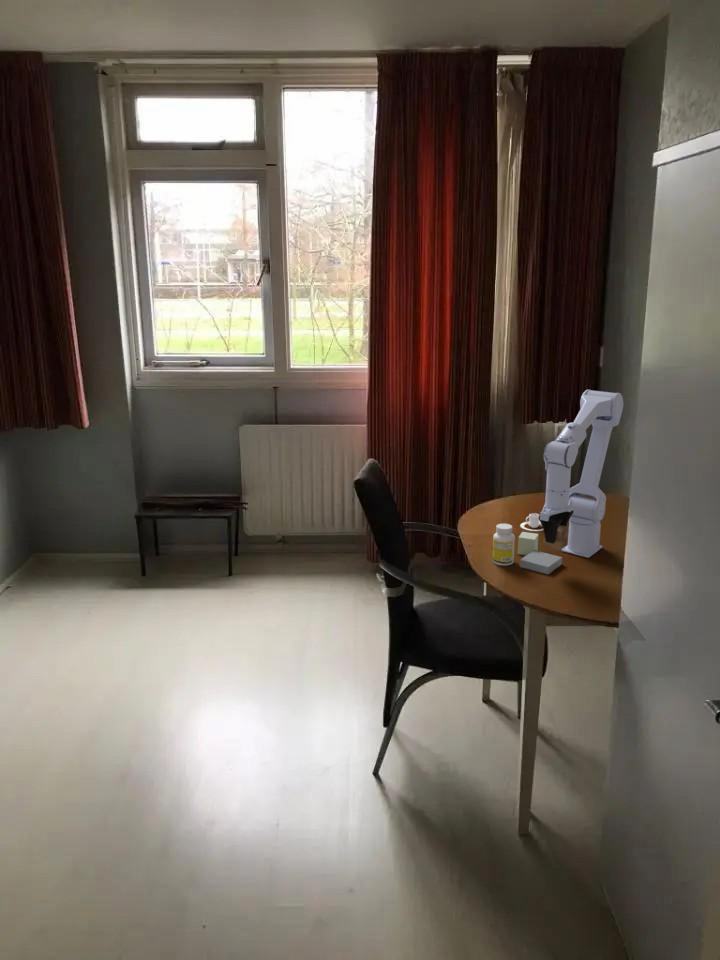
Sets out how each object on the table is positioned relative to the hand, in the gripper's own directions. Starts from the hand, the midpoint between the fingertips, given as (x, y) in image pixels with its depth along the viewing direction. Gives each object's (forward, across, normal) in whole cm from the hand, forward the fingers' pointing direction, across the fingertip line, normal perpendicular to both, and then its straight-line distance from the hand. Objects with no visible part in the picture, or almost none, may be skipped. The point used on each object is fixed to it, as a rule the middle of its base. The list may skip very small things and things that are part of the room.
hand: (554, 539), depth 197 cm
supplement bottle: (+9, -2, +13) cm, 16 cm away
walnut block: (+2, 0, 0) cm, 2 cm away
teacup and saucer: (+10, +27, +16) cm, 32 cm away
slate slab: (+9, +1, +4) cm, 10 cm away
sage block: (+9, +8, +11) cm, 16 cm away
